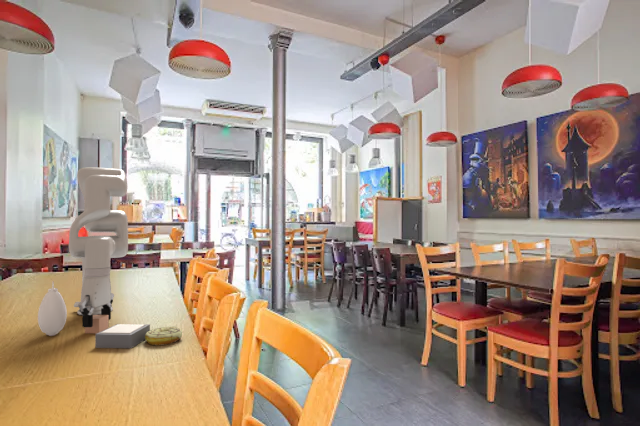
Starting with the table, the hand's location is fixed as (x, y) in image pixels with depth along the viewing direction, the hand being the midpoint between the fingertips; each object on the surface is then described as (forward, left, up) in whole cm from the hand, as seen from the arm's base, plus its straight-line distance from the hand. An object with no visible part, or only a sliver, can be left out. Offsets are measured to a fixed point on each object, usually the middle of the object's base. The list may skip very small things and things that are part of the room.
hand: (97, 323), depth 128 cm
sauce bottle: (-12, -5, -3) cm, 14 cm away
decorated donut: (+28, -9, -3) cm, 29 cm away
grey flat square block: (+16, -11, -3) cm, 19 cm away
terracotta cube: (0, 0, -3) cm, 3 cm away
